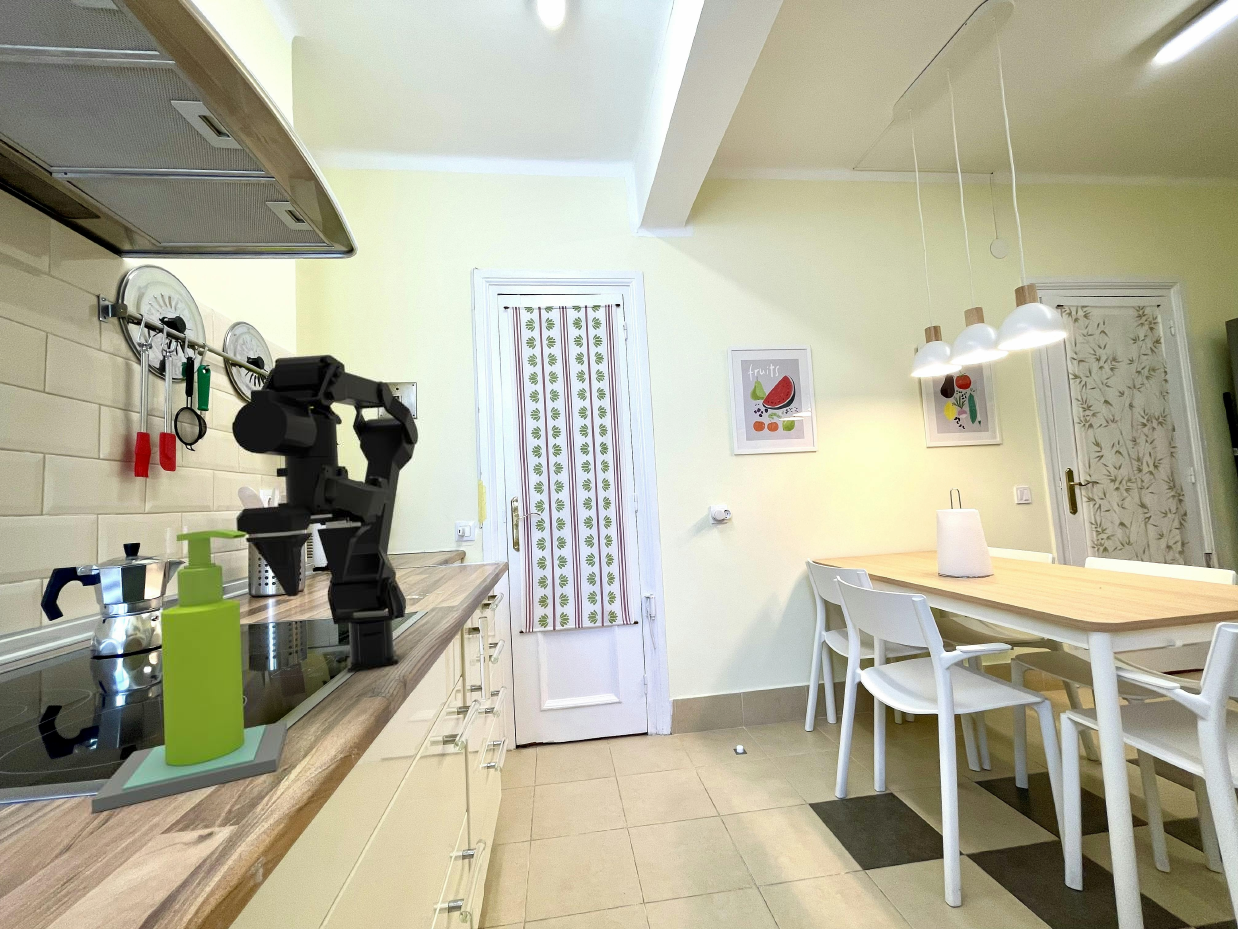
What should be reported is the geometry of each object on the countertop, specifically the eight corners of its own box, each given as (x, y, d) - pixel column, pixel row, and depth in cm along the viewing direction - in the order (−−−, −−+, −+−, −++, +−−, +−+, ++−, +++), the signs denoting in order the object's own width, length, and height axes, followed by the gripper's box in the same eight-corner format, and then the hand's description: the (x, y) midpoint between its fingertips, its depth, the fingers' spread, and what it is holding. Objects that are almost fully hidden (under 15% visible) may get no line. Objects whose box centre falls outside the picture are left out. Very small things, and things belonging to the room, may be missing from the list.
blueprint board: (133, 762, 55) (133, 749, 55) (286, 730, 60) (286, 719, 60) (91, 813, 46) (91, 797, 46) (276, 770, 51) (275, 756, 51)
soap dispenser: (226, 763, 50) (218, 530, 51) (147, 768, 50) (141, 535, 51) (269, 735, 56) (261, 526, 57) (198, 738, 56) (192, 531, 57)
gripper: (330, 449, 61) (337, 600, 60) (410, 458, 79) (416, 573, 79) (229, 457, 62) (235, 606, 61) (331, 463, 80) (337, 578, 79)
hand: (317, 588), depth 70 cm, fingers open, 9 cm apart
